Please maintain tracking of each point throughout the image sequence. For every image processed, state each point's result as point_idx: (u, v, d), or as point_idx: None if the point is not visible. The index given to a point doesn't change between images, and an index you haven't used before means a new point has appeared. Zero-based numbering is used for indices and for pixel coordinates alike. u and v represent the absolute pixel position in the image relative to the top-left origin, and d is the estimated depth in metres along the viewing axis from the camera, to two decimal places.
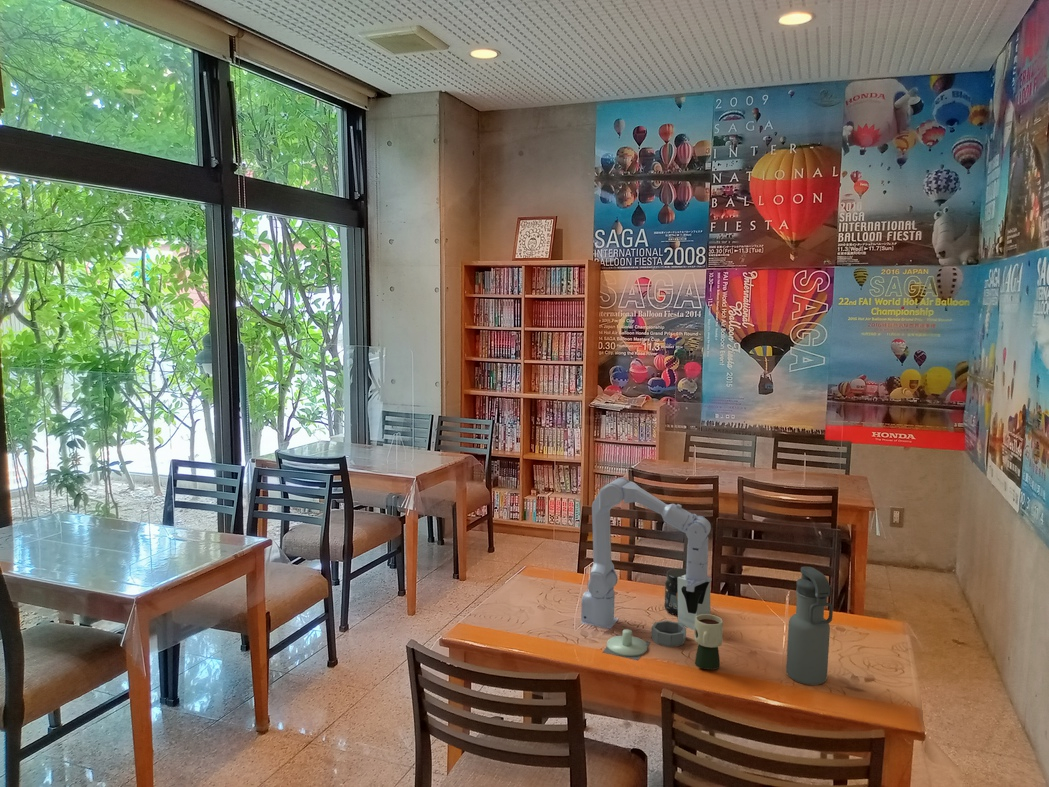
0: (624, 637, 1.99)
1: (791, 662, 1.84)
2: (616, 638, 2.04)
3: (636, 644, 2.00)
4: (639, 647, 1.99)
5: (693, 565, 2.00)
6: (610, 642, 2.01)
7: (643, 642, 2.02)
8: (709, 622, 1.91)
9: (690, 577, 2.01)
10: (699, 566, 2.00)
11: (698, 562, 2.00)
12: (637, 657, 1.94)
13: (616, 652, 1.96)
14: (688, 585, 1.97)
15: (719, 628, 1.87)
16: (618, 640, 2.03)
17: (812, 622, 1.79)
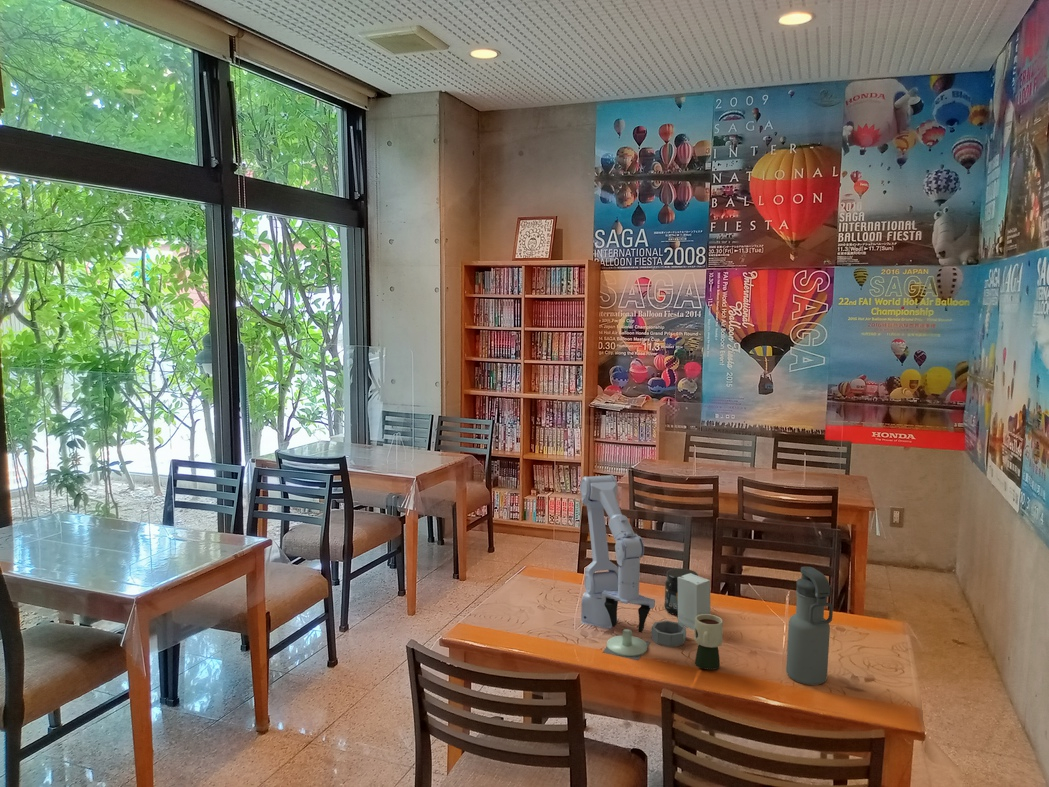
0: (624, 637, 1.99)
1: (791, 662, 1.84)
2: (616, 638, 2.04)
3: (636, 644, 2.00)
4: (639, 647, 1.99)
5: None
6: (610, 642, 2.01)
7: (643, 642, 2.02)
8: (709, 622, 1.91)
9: None
10: (618, 582, 1.98)
11: (621, 580, 1.97)
12: (637, 657, 1.94)
13: (616, 652, 1.96)
14: None
15: (719, 628, 1.87)
16: (618, 640, 2.03)
17: (812, 622, 1.79)
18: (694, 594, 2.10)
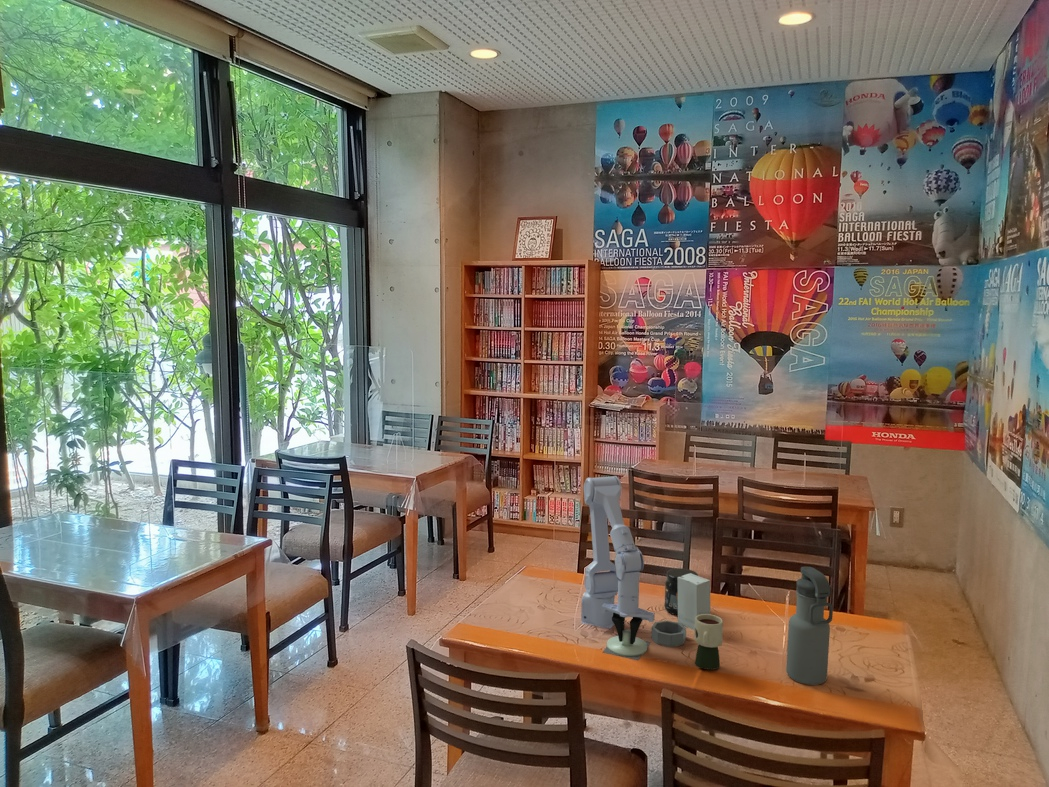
0: (624, 637, 1.99)
1: (791, 662, 1.84)
2: (616, 638, 2.04)
3: (636, 644, 2.00)
4: (639, 647, 1.99)
5: None
6: (610, 642, 2.01)
7: (643, 642, 2.02)
8: (709, 622, 1.91)
9: None
10: None
11: (620, 594, 1.97)
12: (637, 657, 1.94)
13: (616, 652, 1.96)
14: (603, 605, 2.03)
15: (719, 628, 1.87)
16: (618, 640, 2.03)
17: (812, 622, 1.79)
18: (694, 594, 2.10)
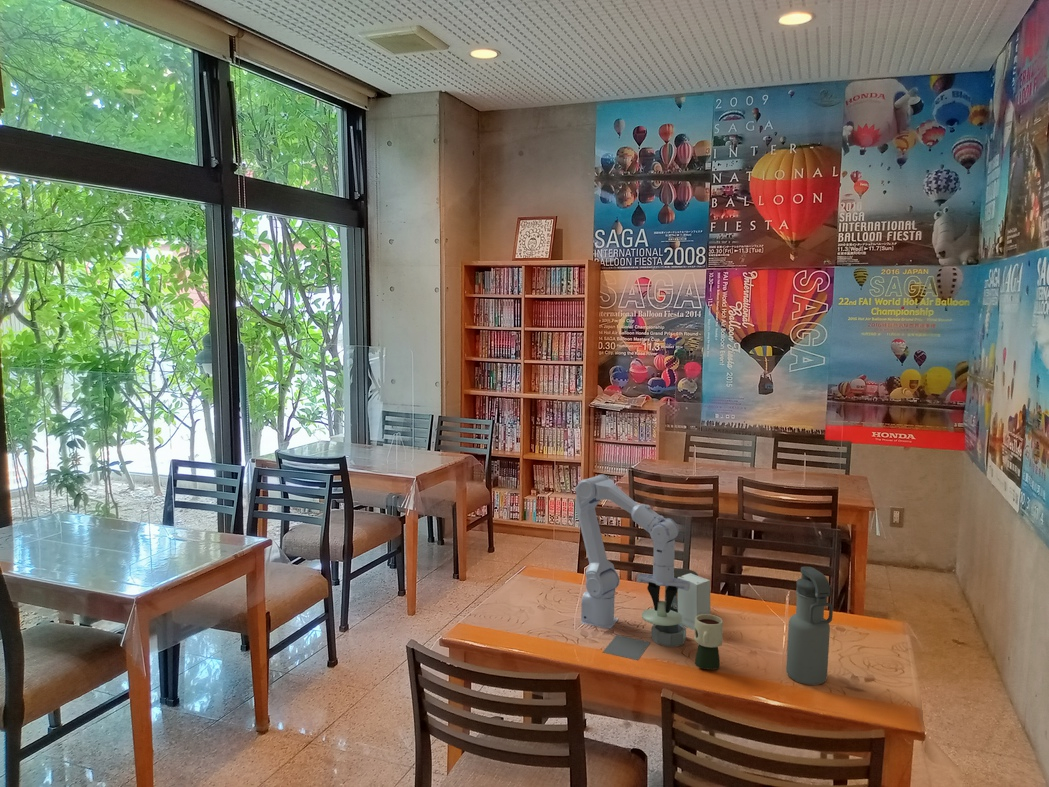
0: (659, 608, 2.02)
1: (791, 662, 1.84)
2: (651, 610, 2.07)
3: (671, 616, 2.03)
4: (674, 618, 2.02)
5: None
6: (645, 613, 2.05)
7: (678, 614, 2.04)
8: (709, 622, 1.91)
9: None
10: (653, 565, 2.02)
11: (661, 564, 1.99)
12: (637, 657, 1.94)
13: (650, 621, 1.99)
14: None
15: (719, 628, 1.87)
16: (653, 612, 2.06)
17: (812, 622, 1.79)
18: (694, 594, 2.10)
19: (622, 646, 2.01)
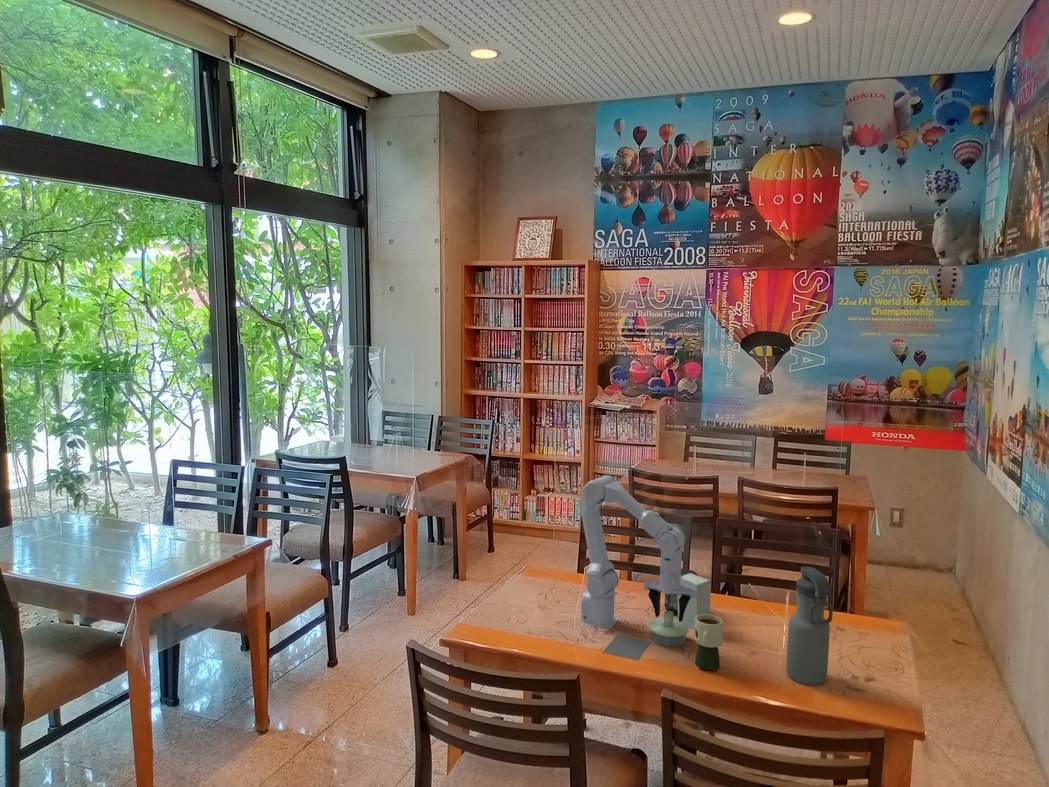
0: (666, 618, 2.04)
1: (791, 662, 1.84)
2: (658, 619, 2.08)
3: (678, 626, 2.04)
4: (681, 628, 2.03)
5: None
6: (652, 623, 2.06)
7: (684, 624, 2.06)
8: (709, 622, 1.91)
9: None
10: (660, 573, 2.03)
11: (670, 572, 2.01)
12: (637, 657, 1.94)
13: (657, 632, 2.01)
14: (645, 582, 2.07)
15: (719, 628, 1.87)
16: (660, 621, 2.07)
17: (812, 622, 1.79)
18: None
19: (622, 646, 2.01)
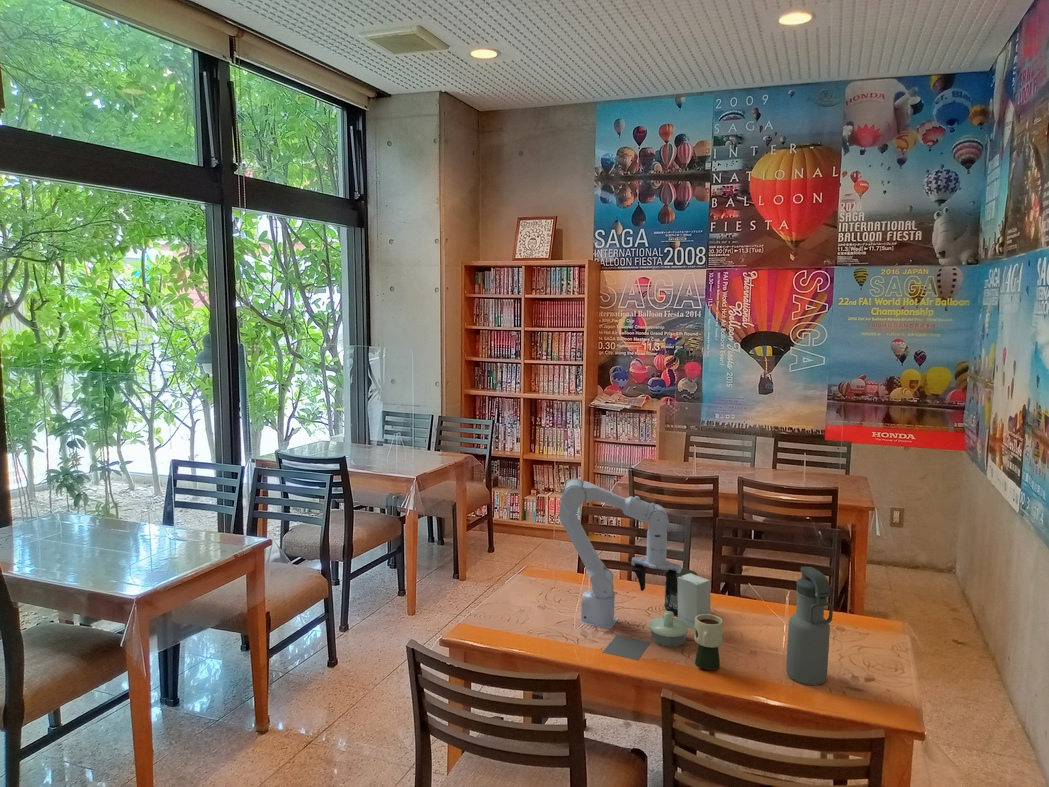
0: (666, 618, 2.04)
1: (791, 662, 1.84)
2: (658, 619, 2.08)
3: (678, 626, 2.04)
4: (681, 628, 2.03)
5: None
6: (652, 623, 2.06)
7: (684, 624, 2.06)
8: (709, 622, 1.91)
9: None
10: None
11: (660, 548, 2.10)
12: (637, 657, 1.94)
13: (657, 632, 2.01)
14: (633, 558, 2.17)
15: (719, 628, 1.87)
16: (660, 621, 2.07)
17: (812, 622, 1.79)
18: (694, 594, 2.10)
19: (622, 646, 2.01)
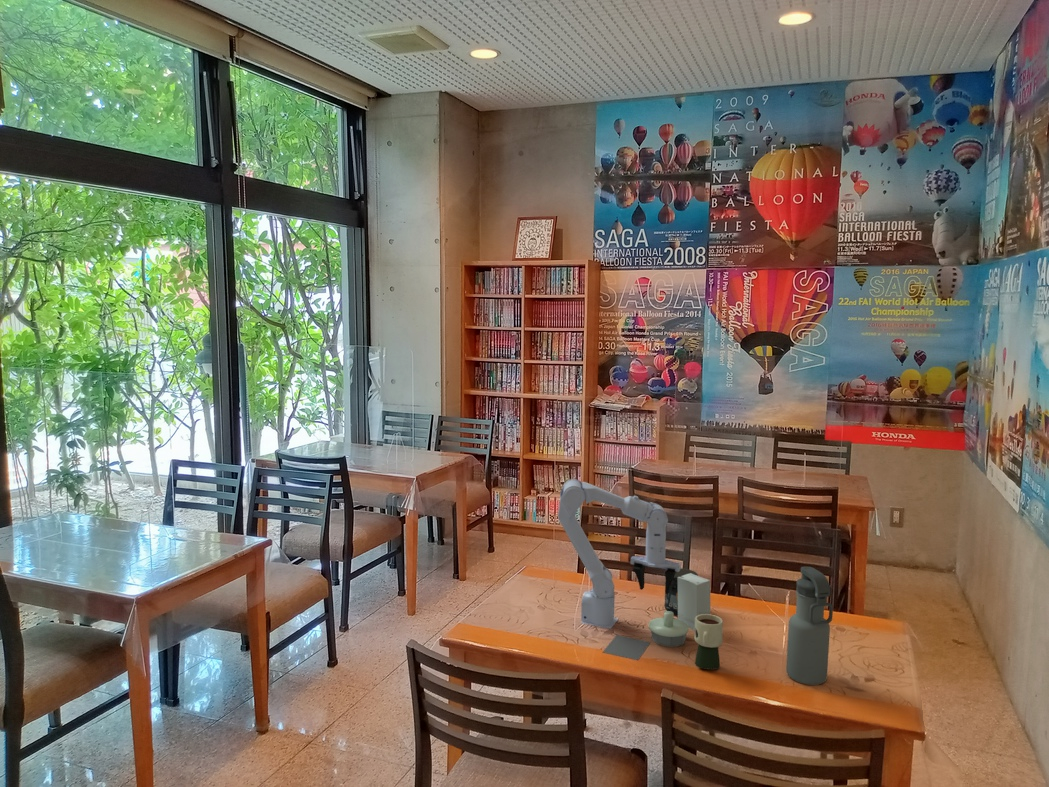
0: (666, 618, 2.04)
1: (791, 662, 1.84)
2: (658, 619, 2.08)
3: (678, 626, 2.04)
4: (681, 628, 2.03)
5: None
6: (652, 623, 2.06)
7: (684, 624, 2.06)
8: (709, 622, 1.91)
9: None
10: None
11: (660, 547, 2.11)
12: (637, 657, 1.94)
13: (657, 632, 2.01)
14: (632, 557, 2.18)
15: (719, 628, 1.87)
16: (660, 621, 2.07)
17: (812, 622, 1.79)
18: (694, 594, 2.10)
19: (622, 646, 2.01)
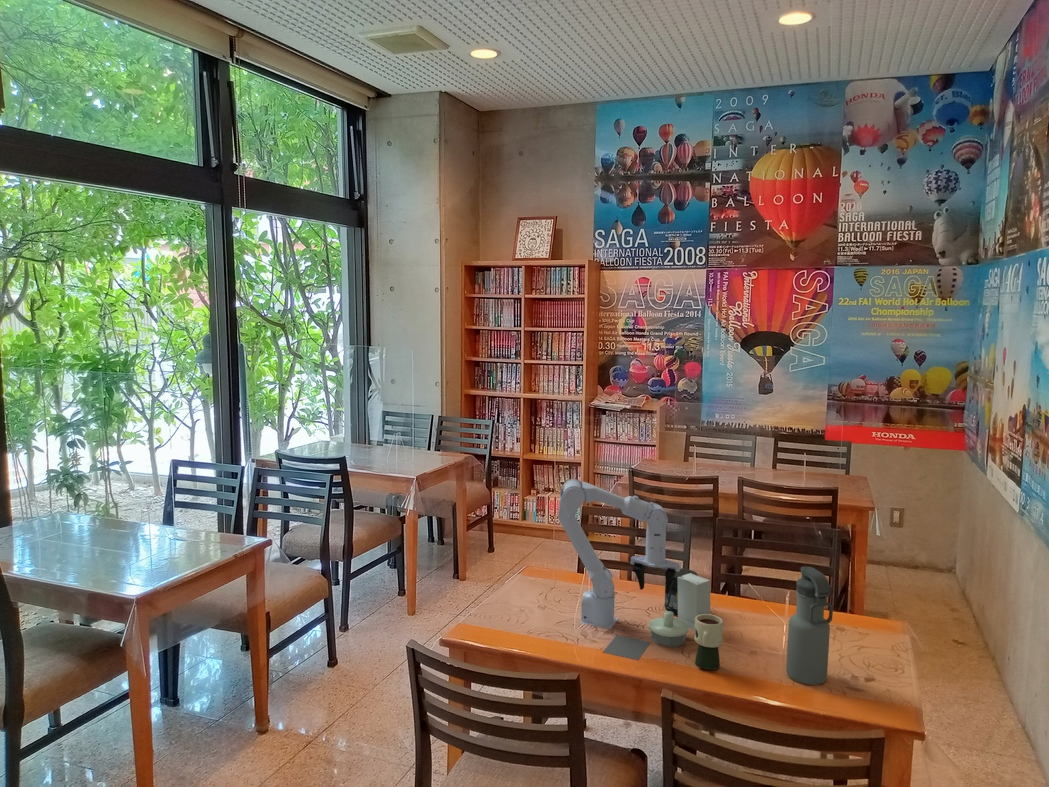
0: (666, 618, 2.04)
1: (791, 662, 1.84)
2: (658, 619, 2.08)
3: (678, 626, 2.04)
4: (681, 628, 2.03)
5: None
6: (652, 623, 2.06)
7: (684, 624, 2.06)
8: (709, 622, 1.91)
9: None
10: None
11: (660, 547, 2.11)
12: (637, 657, 1.94)
13: (657, 632, 2.01)
14: (632, 557, 2.18)
15: (719, 628, 1.87)
16: (660, 621, 2.07)
17: (812, 622, 1.79)
18: (694, 594, 2.10)
19: (622, 646, 2.01)
